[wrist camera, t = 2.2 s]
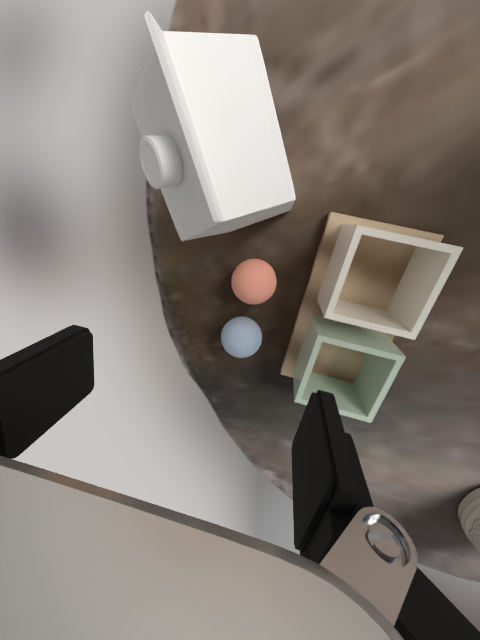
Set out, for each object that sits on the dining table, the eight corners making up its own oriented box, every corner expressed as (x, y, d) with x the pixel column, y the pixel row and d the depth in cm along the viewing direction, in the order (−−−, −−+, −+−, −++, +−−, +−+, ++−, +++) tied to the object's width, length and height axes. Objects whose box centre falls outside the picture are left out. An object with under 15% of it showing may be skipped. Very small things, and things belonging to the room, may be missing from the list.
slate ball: (229, 306, 32) (220, 321, 28) (267, 316, 32) (264, 332, 27) (223, 340, 34) (213, 359, 30) (259, 350, 34) (254, 370, 29)
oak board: (329, 212, 27) (331, 211, 26) (437, 234, 26) (444, 235, 25) (280, 369, 34) (280, 374, 33) (362, 391, 34) (365, 396, 32)
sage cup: (312, 313, 30) (318, 334, 24) (383, 331, 29) (406, 356, 24) (292, 371, 33) (294, 401, 27) (356, 388, 32) (371, 422, 27)
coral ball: (240, 251, 30) (231, 257, 25) (282, 261, 29) (281, 268, 25) (232, 292, 32) (223, 304, 27) (271, 301, 31) (269, 315, 27)
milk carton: (273, 136, 25) (243, -55, 8) (291, 210, 27) (300, 191, 10) (208, 165, 27) (67, 63, 10) (230, 232, 29) (146, 248, 12)
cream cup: (342, 224, 26) (357, 225, 20) (425, 241, 25) (463, 247, 20) (317, 299, 29) (324, 317, 24) (389, 316, 28) (414, 340, 23)
